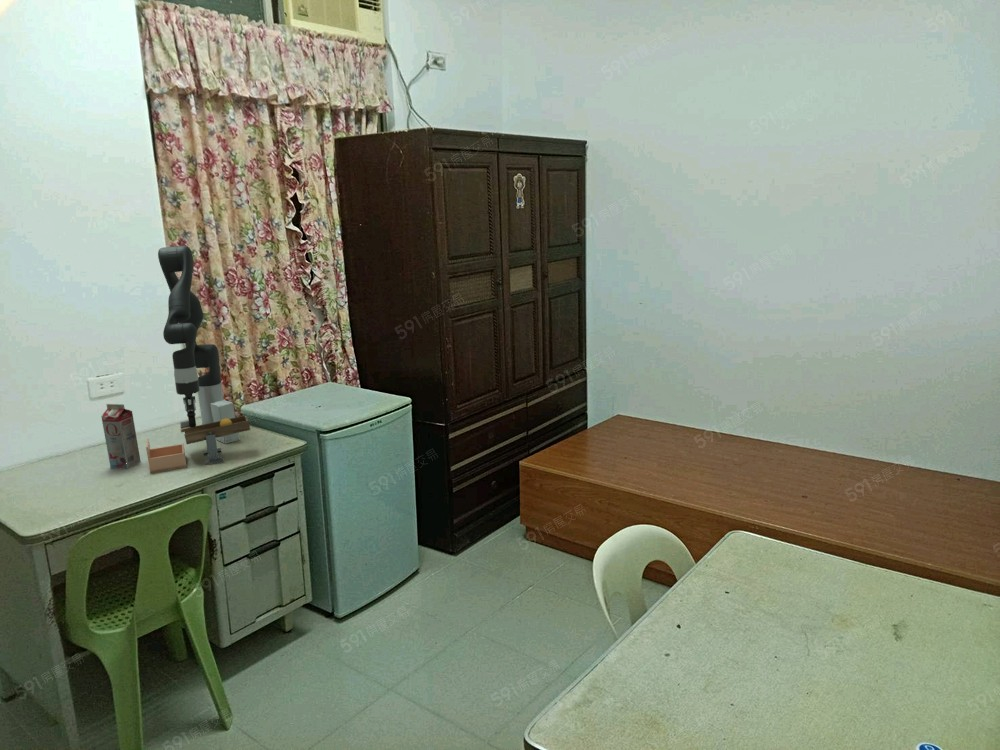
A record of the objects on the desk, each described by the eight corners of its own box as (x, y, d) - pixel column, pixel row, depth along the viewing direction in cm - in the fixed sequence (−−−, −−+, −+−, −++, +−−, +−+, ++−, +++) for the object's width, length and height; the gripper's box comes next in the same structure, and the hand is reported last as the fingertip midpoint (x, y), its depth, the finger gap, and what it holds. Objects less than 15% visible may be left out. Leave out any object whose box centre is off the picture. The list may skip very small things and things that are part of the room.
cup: (150, 462, 244) (146, 438, 242) (185, 457, 249) (182, 433, 247) (150, 473, 235) (146, 447, 232) (186, 467, 239) (182, 442, 237)
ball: (233, 419, 250) (228, 429, 250) (222, 415, 248) (217, 425, 248) (234, 422, 246) (229, 432, 246) (223, 418, 245) (218, 428, 244)
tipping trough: (182, 431, 254) (179, 421, 253) (245, 417, 263) (243, 407, 262) (183, 445, 238) (181, 435, 237) (250, 430, 247) (248, 420, 246)
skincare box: (239, 440, 265) (234, 402, 262) (224, 444, 261) (218, 406, 257) (230, 435, 271) (225, 398, 267) (214, 439, 267) (209, 402, 263)
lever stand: (203, 452, 253) (199, 426, 250) (221, 450, 255) (217, 423, 253) (205, 465, 240) (201, 437, 238) (223, 461, 243) (220, 434, 240)
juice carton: (127, 468, 240) (116, 407, 234) (110, 468, 241) (99, 406, 236) (140, 461, 246) (130, 401, 241) (124, 461, 247) (113, 401, 242)
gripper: (174, 376, 252) (180, 420, 255) (175, 385, 239) (181, 430, 243) (197, 374, 255) (202, 417, 258) (198, 382, 242) (204, 427, 246)
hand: (192, 423), depth 250 cm, fingers open, 8 cm apart
